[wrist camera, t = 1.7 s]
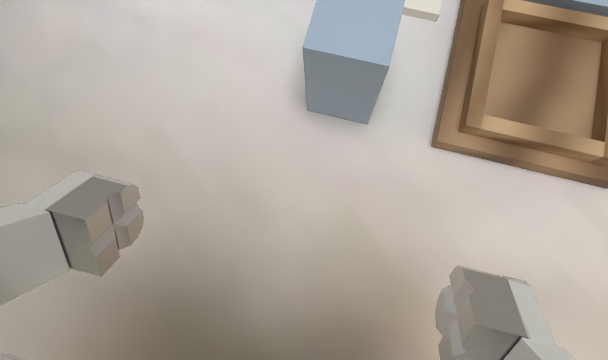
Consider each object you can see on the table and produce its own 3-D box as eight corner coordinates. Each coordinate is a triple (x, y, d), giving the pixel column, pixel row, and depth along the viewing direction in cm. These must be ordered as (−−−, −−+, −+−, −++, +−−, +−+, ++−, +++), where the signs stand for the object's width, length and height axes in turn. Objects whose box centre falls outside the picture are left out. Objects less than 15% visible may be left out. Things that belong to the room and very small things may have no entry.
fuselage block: (307, 110, 26) (302, 47, 18) (324, 51, 26) (326, -34, 19) (367, 124, 25) (389, 66, 17) (382, 63, 26) (409, -18, 18)
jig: (431, 146, 25) (443, 134, 22) (469, -40, 28) (483, -68, 25) (607, 188, 23) (640, 181, 21) (627, -11, 26) (658, -36, 24)
